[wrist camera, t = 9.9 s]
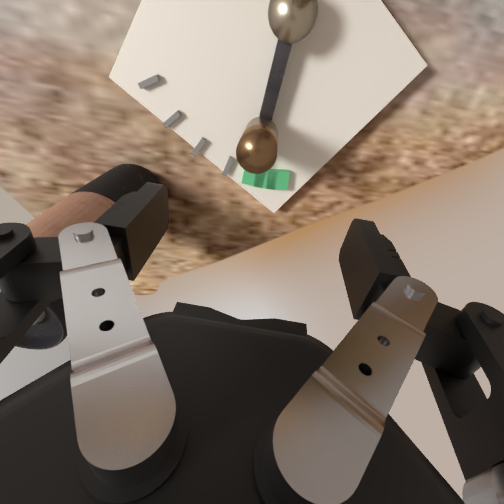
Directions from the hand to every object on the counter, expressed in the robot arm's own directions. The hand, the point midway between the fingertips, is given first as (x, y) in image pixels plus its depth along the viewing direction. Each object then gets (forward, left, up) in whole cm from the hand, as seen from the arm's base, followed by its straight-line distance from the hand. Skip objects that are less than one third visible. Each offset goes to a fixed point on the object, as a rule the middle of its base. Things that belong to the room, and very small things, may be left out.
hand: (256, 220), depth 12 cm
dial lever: (-3, -2, -18) cm, 19 cm away
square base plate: (-2, -4, -20) cm, 21 cm away
